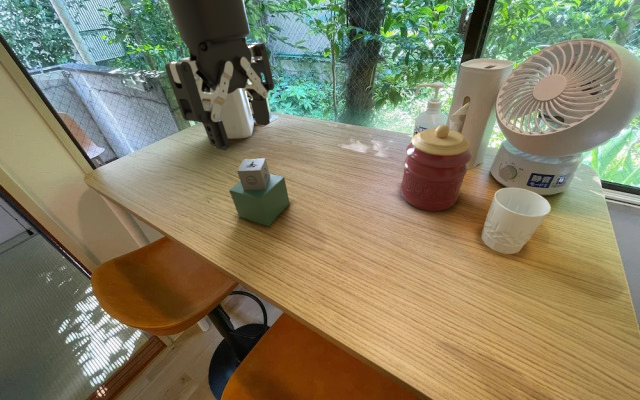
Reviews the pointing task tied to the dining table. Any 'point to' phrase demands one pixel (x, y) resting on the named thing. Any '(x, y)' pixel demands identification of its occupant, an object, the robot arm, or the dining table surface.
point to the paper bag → (234, 113)
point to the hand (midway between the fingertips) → (244, 135)
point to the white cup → (513, 219)
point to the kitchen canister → (435, 168)
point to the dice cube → (254, 174)
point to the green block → (261, 201)
